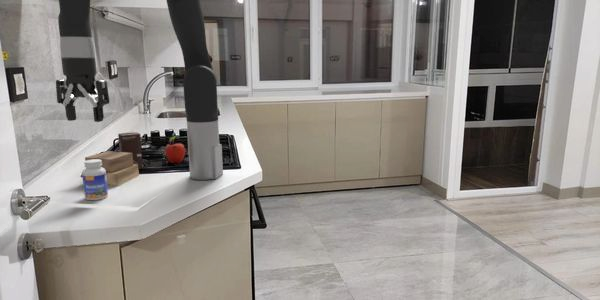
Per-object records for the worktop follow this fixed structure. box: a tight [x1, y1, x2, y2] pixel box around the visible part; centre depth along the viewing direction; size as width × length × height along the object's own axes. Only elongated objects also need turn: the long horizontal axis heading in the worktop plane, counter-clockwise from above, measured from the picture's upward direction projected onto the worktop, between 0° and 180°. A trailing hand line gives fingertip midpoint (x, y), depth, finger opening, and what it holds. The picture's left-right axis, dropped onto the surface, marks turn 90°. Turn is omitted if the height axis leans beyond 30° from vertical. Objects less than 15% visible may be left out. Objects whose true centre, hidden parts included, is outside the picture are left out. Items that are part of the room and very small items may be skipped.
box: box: [117, 131, 143, 169], centre depth 134 cm, size 6×4×12 cm
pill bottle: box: [81, 159, 109, 201], centre depth 107 cm, size 5×5×10 cm
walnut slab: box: [84, 150, 133, 173], centre depth 123 cm, size 9×9×4 cm
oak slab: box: [81, 164, 140, 187], centre depth 124 cm, size 11×11×4 cm
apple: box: [164, 135, 187, 164], centre depth 143 cm, size 8×7×10 cm
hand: (85, 120), depth 107 cm, fingers open, 8 cm apart
